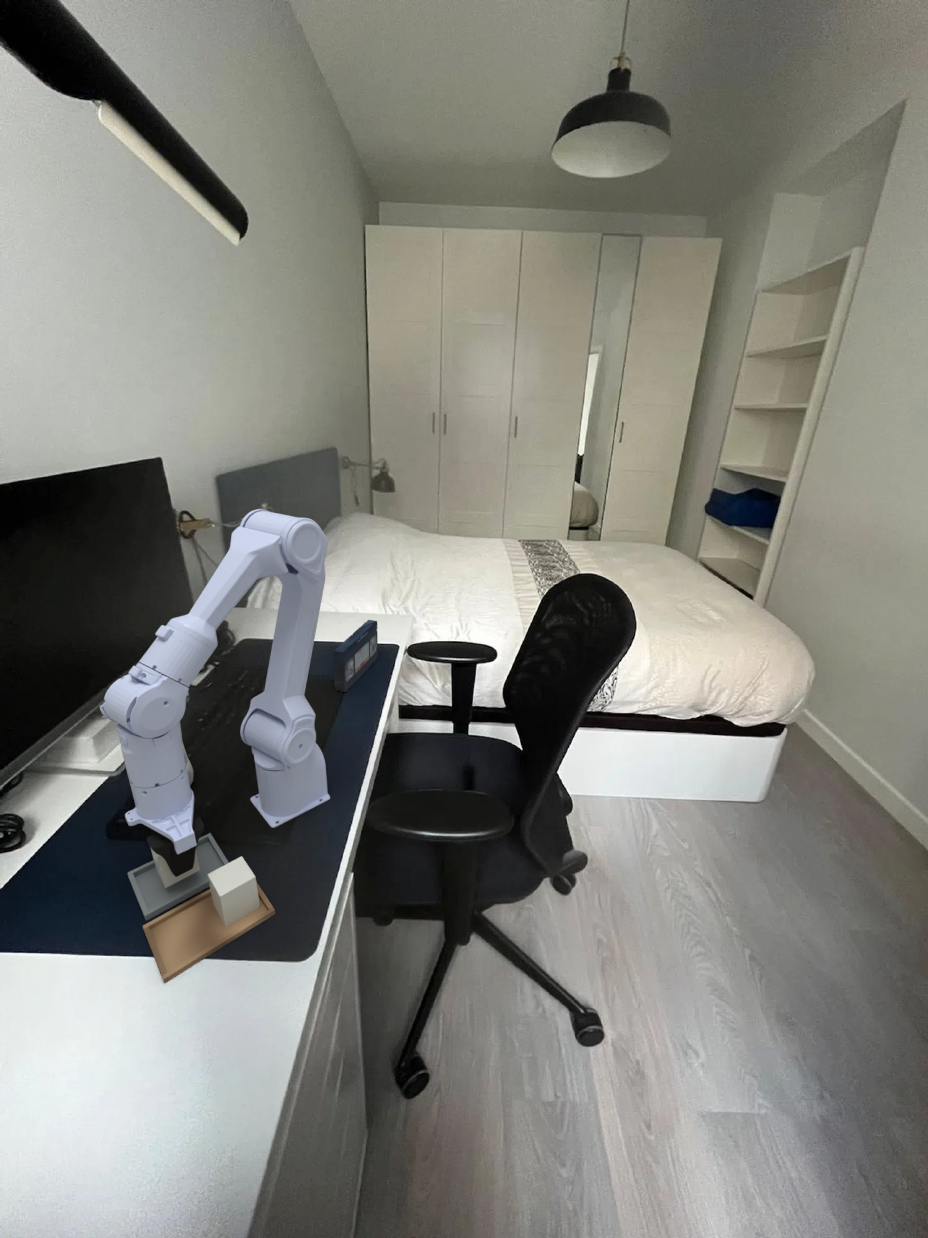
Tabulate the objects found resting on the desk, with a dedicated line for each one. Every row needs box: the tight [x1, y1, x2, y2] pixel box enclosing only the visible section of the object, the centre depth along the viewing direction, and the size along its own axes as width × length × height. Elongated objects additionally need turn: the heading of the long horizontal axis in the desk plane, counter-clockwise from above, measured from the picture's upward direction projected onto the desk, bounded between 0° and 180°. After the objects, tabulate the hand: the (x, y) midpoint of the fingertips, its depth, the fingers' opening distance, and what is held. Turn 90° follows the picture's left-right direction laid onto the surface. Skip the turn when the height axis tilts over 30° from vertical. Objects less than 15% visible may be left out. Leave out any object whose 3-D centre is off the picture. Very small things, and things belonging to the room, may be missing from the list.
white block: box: [150, 848, 200, 888], centre depth 64 cm, size 4×4×5 cm
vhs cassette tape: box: [332, 619, 379, 693], centre depth 116 cm, size 18×3×10 cm, turn 165°
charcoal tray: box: [127, 832, 230, 922], centre depth 65 cm, size 10×8×1 cm
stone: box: [208, 856, 260, 928], centre depth 61 cm, size 4×4×5 cm
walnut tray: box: [142, 881, 276, 984], centre depth 60 cm, size 12×8×1 cm, turn 134°
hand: (177, 859), depth 64 cm, fingers closed on white block, 4 cm apart
